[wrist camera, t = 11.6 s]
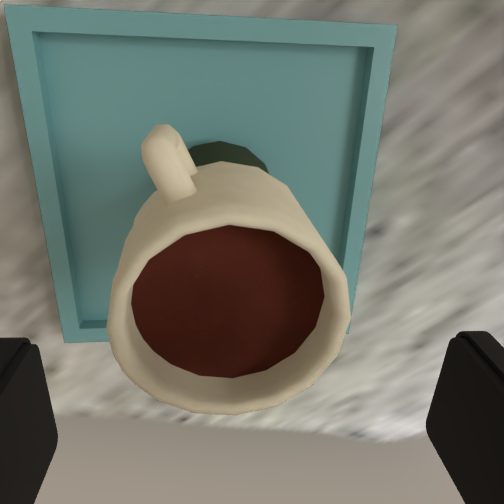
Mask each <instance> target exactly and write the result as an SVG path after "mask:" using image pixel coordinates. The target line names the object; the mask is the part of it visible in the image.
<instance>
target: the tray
mask: <svg viewBox="0 0 504 504" xmlns="http://www.w3.org/2000/svg"><path fill="white" fill-rule="evenodd" d="M4 10H5V16H6V21H7V27H8V32H9V38H10V43H11V49H12V54H13V60H14V66H15V71H16V77H17V82H18V88H19V93H20V99H21V104H22V110H23V116H24V121H25V127H26V132H27V138H28V143H29V149H30V154H31V160H32V166H33V171H34V177H35V182H36V188H37V193H38V199H39V204H40V210H41V216H42V221H43V227H44V232H45V238H46V243H47V249H48V254H49V260H50V266H51V271H52V277H53V282H54V288H55V293H56V299H57V304H58V310H59V316H60V321H61V327H62V332H63V338H64V343H81V342H110V340H109V336H108V333H107V329H106V327H107V319H108V312H109V304H110V296H111V289H112V281H113V278H114V276H115V274H116V271H117V269H118V266H119V261H120V257H121V254H122V250H123V247H124V243H125V240H126V238H127V236H128V234H129V232H130V231H131V229H132V227H133V225H134V219H135V217H136V215H137V214H138V212H139V210H140V209H141V207H142V206H143V204H144V203H145V202H146V201H147V200H148V199H149V197H150V196H151V195H152V194H153V193H154V192H155V191H157V188H156V186H155V184H154V182H153V180H152V178H151V177H150V175H149V173H148V171H147V169H146V167H145V165H144V162H143V159H142V152H141V143H142V142H143V141H144V139H145V138H146V137H147V135H148V134H149V133H150V132H151V130H152V129H153V128H154V127H155V126H156V125H157V124H169V125H170V126H172V127H173V128H174V129H175V130H176V131H177V132H178V133H179V134H180V136H181V138H182V140H183V142H184V144H185V146H186V148H187V150H188V149H190V148H191V147H193V146H195V145H201V144H206V143H211V142H216V141H223V142H227V143H231V144H235V145H239V146H243V147H246V148H247V149H249V150H250V151H251V152H252V153H253V154H254V155H255V156H257V157H258V158H259V159H260V160H261V161H262V162H264V163H265V165H266V167H267V170H268V172H269V175H271V176H272V177H274V178H276V179H277V180H279V181H280V182H282V183H283V184H285V185H287V186H288V188H289V189H290V191H291V193H292V194H293V196H294V197H295V199H296V200H297V202H298V203H299V205H300V206H301V208H302V209H303V211H304V212H305V214H306V215H307V217H308V218H309V220H310V221H311V223H312V224H313V226H314V227H315V229H316V230H317V232H318V233H319V235H320V236H321V238H322V239H323V241H324V242H325V244H326V245H327V247H328V248H329V250H330V251H331V253H332V254H333V256H334V257H335V259H336V260H337V262H338V264H339V265H340V267H341V268H342V270H343V272H344V273H345V275H346V277H347V284H348V293H349V302H350V311H351V315H352V309H353V303H354V296H355V290H356V284H357V278H358V271H359V265H360V259H361V252H362V246H363V240H364V233H365V227H366V221H367V215H368V208H369V202H370V196H371V189H372V183H373V177H374V171H375V164H376V158H377V152H378V145H379V139H380V133H381V126H382V120H383V114H384V108H385V101H386V95H387V89H388V82H389V76H390V70H391V63H392V57H393V51H394V45H395V38H396V32H397V26H398V25H389V24H370V23H351V22H332V21H312V20H293V19H274V18H255V17H236V16H217V15H198V14H179V13H160V12H141V11H122V10H103V9H84V8H65V7H46V6H26V5H7V4H4ZM350 322H351V319H350ZM350 322H349V325H348V328H347V331H346V334H349V328H350Z"/></svg>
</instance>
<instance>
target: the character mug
mask: <svg viewBox="0 0 504 504" xmlns="http://www.w3.org/2000/svg"><path fill="white" fill-rule="evenodd" d="M141 152H142V159H143V162H144V165H145V167H146V169H147V171H148V173H149V175H150V177H151V178H152V180H153V182H154V184H155V186H156V188H157V191H155V192H154V193H153V194H152V195H151V196H150V197H149V199H148V200H147V201H146V202H145V203H144V204H143V206H142V207H141V209H140V210H139V212H138V214H137V215H136V217H135V219H134V225H133V227H132V229H131V231H130V232H129V234H128V236H127V238H126V240H125V243H124V247H123V250H122V254H121V257H120V261H119V266H118V269H117V271H116V274H115V276H114V278H113V281H112V289H111V296H110V304H109V312H108V319H107V327H106V329H107V333H108V336H109V340H110V344H111V348H112V352H113V355H114V356H115V358H116V360H117V362H118V364H119V366H120V367H121V369H122V371H123V372H124V373H125V374H126V375H127V376H128V377H129V378H130V379H131V380H132V382H133V383H134V384H135V385H137V386H138V387H139V388H141V389H142V390H144V391H145V392H146V393H148V394H149V395H151V396H152V397H154V398H155V399H156V400H158V401H161V402H164V403H167V404H169V405H172V406H175V407H178V408H181V409H184V410H187V411H190V412H193V413H204V414H222V415H239V414H243V413H248V412H252V411H257V410H262V409H266V408H271V407H275V406H278V405H279V404H281V403H283V402H286V401H287V400H288V399H290V398H291V397H293V396H295V395H296V394H298V393H300V392H302V391H303V390H305V389H307V388H308V387H310V386H312V385H313V384H314V382H315V381H316V380H317V379H318V378H319V377H320V375H321V374H322V373H323V372H324V371H325V370H326V368H327V367H328V366H329V365H330V364H331V363H332V361H333V360H334V359H335V358H336V357H337V356H338V354H339V351H340V348H341V345H342V343H343V340H344V337H345V334H346V331H347V328H348V325H349V322H350V319H351V311H350V302H349V293H348V284H347V277H346V275H345V273H344V272H343V270H342V268H341V267H340V265H339V264H338V262H337V260H336V259H335V257H334V256H333V254H332V253H331V251H330V250H329V248H328V247H327V245H326V244H325V242H324V241H323V239H322V238H321V236H320V235H319V233H318V232H317V230H316V229H315V227H314V226H313V224H312V223H311V221H310V220H309V218H308V217H307V215H306V214H305V212H304V211H303V209H302V208H301V206H300V205H299V203H298V202H297V200H296V199H295V197H294V196H293V194H292V193H291V191H290V189H289V188H288V186H287V185H285V184H283V183H282V182H280V181H279V180H277V179H276V178H274V177H272V176H271V175H269V172H268V170H267V167H266V165H265V163H264V162H262V161H261V160H260V159H259V158H258V157H257V156H255V155H254V154H253V153H252V152H251V151H250V150H249V149H247V148H246V147H243V146H239V145H235V144H231V143H227V142H223V141H216V142H211V143H206V144H201V145H195V146H193V147H191V148H190V149H188V150H187V148H186V146H185V144H184V142H183V140H182V138H181V136H180V134H179V133H178V132H177V131H176V130H175V129H174V128H173V127H172V126H170V125H169V124H157V125H156V126H155V127H154V128H153V129H152V130H151V132H150V133H149V134H148V135H147V137H146V138H145V139H144V141H143V142H142V143H141Z"/></svg>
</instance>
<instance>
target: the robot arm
mask: <svg viewBox="0 0 504 504" xmlns="http://www.w3.org/2000/svg"><path fill="white" fill-rule="evenodd" d="M426 430H427V434H428V436H429V438H430V440H431V442H432V444H433V446H434V447H435V449H436V451H437V453H438V455H439V457H440V458H441V460H442V462H443V464H444V466H445V467H446V469H447V471H448V473H449V475H450V476H451V478H452V480H453V482H454V484H455V486H456V487H457V489H458V491H459V493H460V495H461V496H462V498H463V500H464V502H465V504H504V348H503V347H502V346H501V345H500V343H499V342H498V341H497V340H496V339H495V338H494V337H493V336H492V335H491V334H489V333H488V332H486V331H462V332H459V333H458V334H457V335H456V337H455V338H452V339H451V340H450V342H449V345H448V348H447V351H446V355H445V358H444V362H443V365H442V368H441V372H440V375H439V379H438V382H437V385H436V389H435V392H434V396H433V399H432V402H431V406H430V409H429V413H428V416H427V419H426ZM57 441H58V433H57V428H56V423H55V419H54V414H53V410H52V405H51V401H50V396H49V392H48V387H47V383H46V378H45V374H44V369H43V365H42V360H41V356H40V351H39V348H38V346H37V345H36V344H31V343H30V341H29V339H28V338H0V504H34V502H35V499H36V497H37V494H38V492H39V489H40V487H41V484H42V482H43V480H44V477H45V475H46V472H47V470H48V467H49V465H50V462H51V460H52V458H53V455H54V452H55V450H56V446H57Z"/></svg>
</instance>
